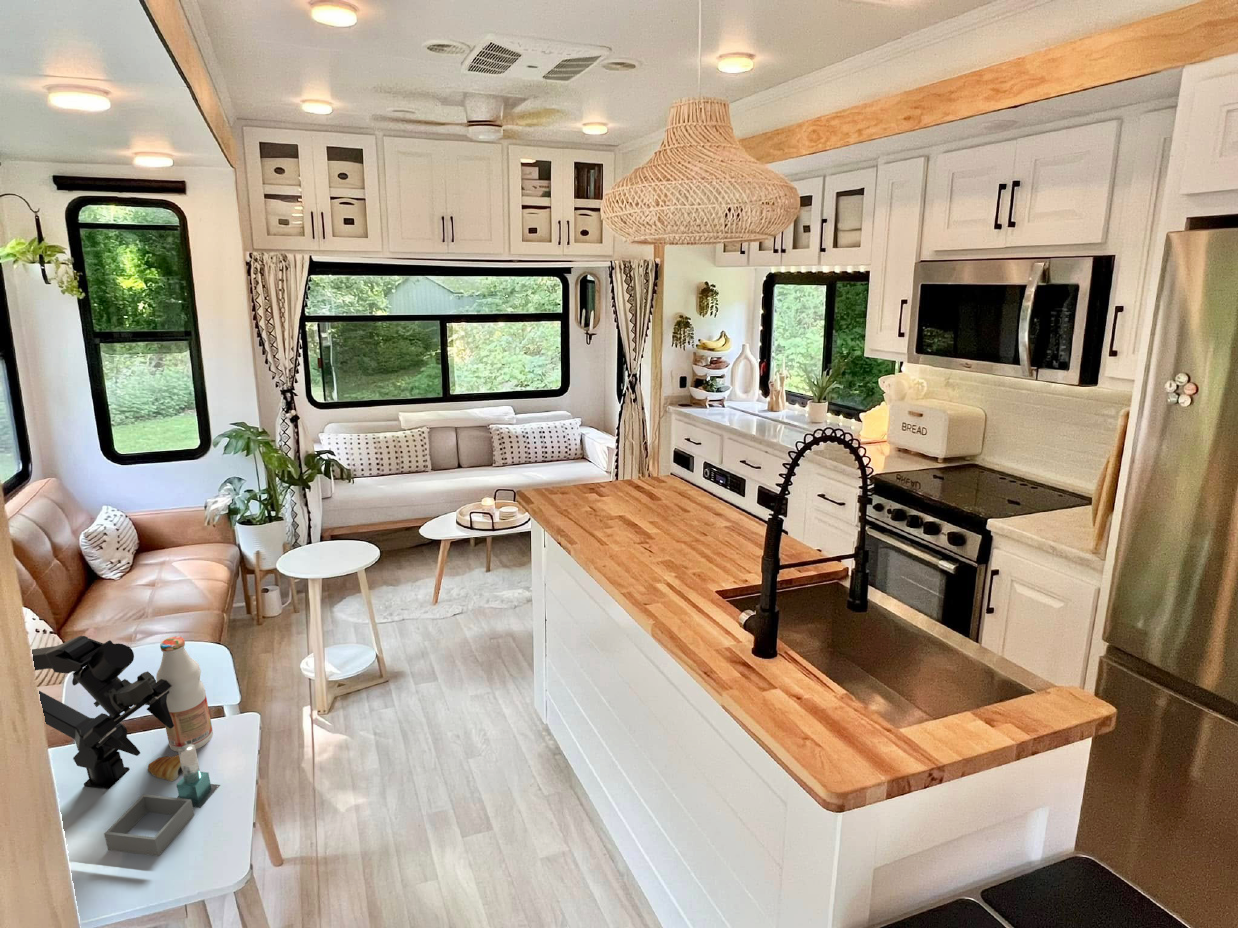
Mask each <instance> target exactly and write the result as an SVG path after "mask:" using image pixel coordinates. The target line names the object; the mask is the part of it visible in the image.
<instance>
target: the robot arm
mask: <svg viewBox="0 0 1238 928" xmlns="http://www.w3.org/2000/svg"><path fill="white" fill-rule="evenodd" d="M32 654H33V661H34V667H35V671H42V670H49V669H50V670H53V672H54V673H55V674H56V673H57V674H70V673H72V677H73V678H72V681H71V683H72V686H76V685H78V684H80V685H81V686H82V687H83V688H84V690H86V692H87V693H88V694H89V695H90V697H92V699H94V700H95V702H93V706H95V707H96V708H97V707H99V706H101V708H102V709H103V710H104V711H105V712H106V713H107V714H106V713H103V712H102V713H100V714H99V715H97V716H95V717H89V716H87V714H86V715H85V714H83V713H81V712H79V711H78V710H76V709H75V708H72V707H71V706H69V705H67V704H65V703H64V702H62V701H59V700H58V699H56V698H54V697H52V696H50V695H48V694H46V693H45V692H42V691H41V690H39V694H40V701H41V704H42V708H43V713H44V716H45V722H46V724H45V725H48V727H51V728H53V729H55V730H56V731H59V732H60V733H62V734H64V735H65V736H68V737H69V738H72V739H73V740H74V742H75V745H76V748H77V751H78V752H76V754H75V755H74V756H73V758H72V760H73V762H74V763H75V764H76V766H77V767H80V768H84V769H85V768H86V771H87V773H86V774H87V776H88V779H87V780H86V781H85V782H84V783H83V786H84V787H87V788H88V787H89V788H95V789H108V790H109V789H111V788H112V787H113V786H114V785H115V784H116V783H118V781H120V780H121V779H122V778H123V777H124V776H125V775H126V774H127V773H128V772H129V771H130V767H129V766H128V767H127V766H125V765H124V761H123V758H121V753H120V751H121V752H124V753H127V754H130V755H133V756H136V757H138V756H140V754H141V752H140V750H139V749H138V747H137V746H136V745H135V744H134V743H133V742H132V741H131V740H130V739H129V738H128V730H127V727H126V726H125V725H124V724H123V723H122V722H123V721H124V720H126V719H127V718H129V717H130V716H131V715H132V714H134V713H135V712H137V711H138V710H139V709H141V708H142V707H143V706H148V707H147V708H146V710H147V711H148V712H149V713H151V715H153V716H154V717H155V718H156V719H157V720H158V721H159V722H160V723H162V724H163V725H164V726H165V725H166V726H167V727H169V728H170V729H172V728H173V727H174V724H173V721H172V718H171V716H170V713H169V710H168V707H167V702H166V701H167V695H168V694H169V691H167V690H168V689H169V688H170V687H171V686H172V685H171V684H170V683H169V682H168V681H167V680H163V679H160V680H159V681H158V682H157V681H156V678H155V676H154V675H152V673H150V672H149V671H148V670H147V671H144V672H142V673H141V674H139V675H138V676H137V678H136V680H135V681H134V682H130V681H129V680H128V679H126V678H124V679H122V680H121V679H120V677H119V676H120V675H121V674H122V673H123V672H124V671H125V670H126V669H127V668H128V667H129V666H131V664H132V663H133V662H134V660H135V659H134V658H135V653H134V651H133V649H132V647H130V646H128V645H126V644H123V643H114V642H113V641H111V640H107V641H106V642H104V643H103V642H100V641H97V640H95V639H92V638H89V637H88V636H85V635H79V636H77V637H74V638H71V639H69V640H67V641H65V642H63V643H61V644H59V645H54V646H47V647H41V648H40V647H39V648H33V649H32ZM166 691H167V692H166ZM165 692H166V693H165Z"/></svg>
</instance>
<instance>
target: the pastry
mask: <svg viewBox="0 0 1238 928" xmlns="http://www.w3.org/2000/svg"><path fill="white" fill-rule="evenodd" d="M147 771H148V772H149V773H151V775H152V776H154V777H156V779H163V780H166V781H169V782H172V781H175V780H177V779H178V778H179V776H180V775H181V774H183V773H182V768H181V763H180V758H179V754H177V755H174V756H167V755H166V756H162V757H158V758H157V759H155V760H153V761H152V762H151V763H148V766H147Z"/></svg>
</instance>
